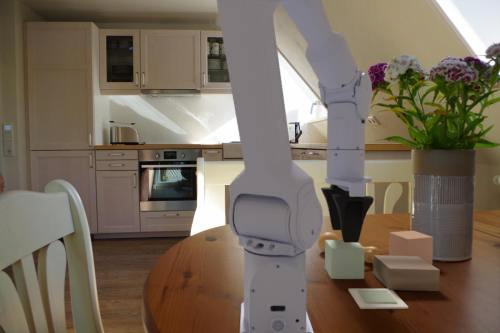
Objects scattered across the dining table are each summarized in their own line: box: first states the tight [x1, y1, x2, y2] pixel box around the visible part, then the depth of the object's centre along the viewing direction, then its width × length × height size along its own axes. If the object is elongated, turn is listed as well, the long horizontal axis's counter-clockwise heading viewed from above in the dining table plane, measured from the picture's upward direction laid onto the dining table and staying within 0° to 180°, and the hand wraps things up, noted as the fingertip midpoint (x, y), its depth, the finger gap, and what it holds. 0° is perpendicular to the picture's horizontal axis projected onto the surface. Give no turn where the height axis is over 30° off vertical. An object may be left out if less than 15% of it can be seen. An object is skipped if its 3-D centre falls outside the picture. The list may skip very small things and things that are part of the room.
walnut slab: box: [372, 254, 441, 292], centre depth 58 cm, size 7×7×3 cm
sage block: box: [324, 239, 365, 280], centre depth 62 cm, size 5×5×5 cm
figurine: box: [317, 231, 381, 265], centre depth 70 cm, size 8×6×12 cm
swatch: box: [348, 288, 409, 310], centre depth 52 cm, size 6×6×1 cm
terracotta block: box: [388, 230, 434, 265], centre depth 68 cm, size 5×5×5 cm
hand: (344, 235), depth 62 cm, fingers open, 7 cm apart
